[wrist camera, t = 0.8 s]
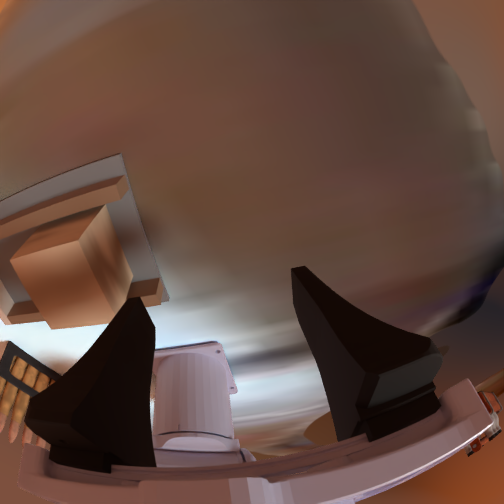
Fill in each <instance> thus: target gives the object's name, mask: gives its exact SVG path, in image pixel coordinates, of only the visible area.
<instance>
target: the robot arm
mask: <svg viewBox="0 0 504 504" xmlns="http://www.w3.org/2000/svg"><path fill="white" fill-rule="evenodd" d="M291 277H292V292H293V304H294V308H295V311H296V314H297V318H298V321H299V324H300V326H301V328H302V331H303V333H304V335H305V338H306V340H307V342H308V344H309V347H310V349H311V351H312V354H313V356H314V358H315V360H316V363H317V366H318V368H319V372H320V375H321V378H322V382H323V385H324V388H325V392H326V395H327V399H328V403H329V406H330V410H331V414H332V418H333V422H334V426H335V431H336V435H337V440H338V442H336V443H333V444H330V445H326V446H323V447H319V448H315V449H311V450H307V451H303V452H299V453H295V454H290V455H285V456H280V457H275V458H270V459H264V460H258V461H256V459H255V457H254V456H253V455H252V454H251V453H250V452H249V451H248V450H247V449H245V448H243V449H240V446H239V440H238V439H234V430H233V422H232V413H231V404H230V396H229V395H230V394H235V393H237V392H238V390H237V387H236V384H235V381H234V379H233V376H232V373H231V370H230V367H229V365H228V362H227V359H226V356H225V353H224V350H223V347H222V345H221V344H220V343H217V342H216V343H209V344H203V345H196V346H189V347H182V348H174V349H166V350H158V351H155V326H154V324H153V322H152V320H151V318H150V316H149V314H148V312H147V310H146V308H145V306H144V304H143V302H142V300H141V297H140V296H139V297H133V298H128V299H127V300H126V302H125V303H124V304H123V306H122V307H121V308H120V310H119V311H118V312H117V314H116V315H115V316H114V318H113V319H112V320H111V322H110V323H109V325H108V326H107V327H106V329H105V330H104V331H103V333H102V334H101V335H100V336H99V338H98V339H97V340H96V341H95V343H94V344H93V345H92V346H91V348H90V349H89V350H88V351H87V352H86V353H85V354H84V355H83V356H82V358H81V359H80V360H79V361H78V362H77V363H76V364H75V365H74V366H72V367H71V368H70V369H69V370H68V371H67V372H66V373H65V374H64V375H63V376H61V377H60V378H59V379H58V380H57V381H55V382H54V383H53V384H51V385H50V386H49V387H47V388H46V389H44V390H43V391H41V392H40V393H38V394H37V395H35V396H34V397H32V398H31V399H30V402H29V405H28V409H27V412H26V416H25V420H24V422H25V424H26V426H27V427H28V428H29V429H30V430H31V431H32V432H34V433H35V434H36V435H38V436H39V437H40V438H42V439H43V440H45V441H46V442H48V443H49V444H51V448H50V451H48V450H47V449H45V448H42V447H40V446H36V445H32V444H29V443H24V448H23V453H22V458H21V463H20V470H19V476H18V483H17V486H18V487H19V488H21V489H23V490H25V491H27V492H30V493H32V494H34V495H36V496H38V497H40V498H43V499H46V500H48V501H50V502H53V503H55V504H355V502H357V501H360V500H362V499H365V498H368V497H370V496H373V495H375V494H377V493H380V492H383V491H385V490H387V489H390V488H391V487H394V486H396V485H398V484H401V483H403V482H405V481H407V480H409V479H411V478H413V477H415V476H417V475H418V474H420V473H422V472H424V471H426V470H428V469H430V468H431V467H433V466H435V465H437V464H438V463H440V462H442V461H444V460H445V459H447V458H448V457H450V456H452V455H453V454H455V453H456V452H458V451H459V450H461V449H463V448H464V447H466V446H467V445H468V444H470V443H471V442H472V441H473V440H475V439H476V438H477V437H478V436H480V435H481V434H482V433H483V432H484V431H486V430H487V429H488V428H489V427H490V426H491V425H493V420H492V418H491V416H490V414H489V413H488V411H487V409H486V407H485V406H484V404H483V402H482V400H481V399H480V397H479V395H478V394H477V392H476V390H475V389H474V387H473V385H472V384H471V382H470V380H469V379H464V380H463V381H461V382H460V383H458V384H456V385H454V386H452V387H451V388H449V389H447V390H446V391H445V392H444V393H443V394H442V395H441V396H440V397H439V399H438V398H437V397H436V395H435V393H434V390H435V389H436V387H435V385H434V383H433V381H432V380H433V379H434V377H435V376H436V374H437V372H438V370H439V369H440V367H441V365H442V362H443V356H442V355H441V353H440V351H439V350H438V348H437V347H436V345H435V344H434V343H433V341H432V340H431V339H430V338H428V337H425V336H421V335H418V334H414V333H411V332H407V331H405V330H402V329H399V328H396V327H394V326H392V325H389V324H387V323H385V322H382V321H380V320H378V319H376V318H374V317H372V316H370V315H368V314H367V313H365V312H363V311H362V310H360V309H358V308H356V307H355V306H353V305H352V304H350V303H349V302H348V301H346V300H345V299H343V298H342V297H341V296H339V295H338V294H337V293H336V292H334V291H333V290H332V289H331V288H329V287H328V286H327V285H326V284H325V283H323V282H322V281H321V280H320V279H319V278H318V277H317V276H316V275H314V274H313V273H312V272H311V271H310V270H309V269H308V268H307V267H305V266H301V267H296V268H291ZM152 372H153V373H154V375H155V376H156V388H155V401H154V417H153V435H152V432H151V419H150V385H151V377H152ZM304 471H307V472H305V473H300V472H304ZM296 473H299V474H296ZM291 474H293V475H291Z"/></svg>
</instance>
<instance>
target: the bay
mask: <svg viewBox="0 0 504 504" xmlns="http://www.w3.org/2000/svg"><path fill="white" fill-rule="evenodd" d="M104 204H106V207H107V210H108V213H109V215H110V218H111V221H112V224H113V226H114V229H115V232H116V234H117V237H118V240H119V242H120V245H121V247H122V250H123V252H124V255H125V257H126V260H127V262H128V264H129V267H130V269H131V272H132V274H133V278H132V281H131V284H130V287H129V291H128V294H127V297H126V300H127V299H128V298H133V297H139V296H140V297H141V300H142V302H143V304H144V306H145V307H150V306H156V305H161V302H166V301H169V296H168V293H167V291H166V288H165V285H164V283H163V280H162V278H161V275H160V273H159V270H158V267H157V265H156V262H155V259H154V256H153V254H152V251H151V248H150V245H149V242H148V240H147V237H146V234H145V231H144V228H143V225H142V222H141V219H140V216H139V213H138V210H137V206H136V203H135V200H134V197H133V193H132V190H131V187H130V183H129V180H128V176H127V173H126V169H125V165H124V162H123V158H122V154H121V153H120V154H116V155H113V156H110V157H107V158H104V159H101V160H98V161H95V162H92V163H89V164H86V165H83V166H81V167H78V168H75V169H73V170H70V171H67V172H65V173H62V174H60V175H57V176H55V177H52V178H50V179H47V180H45V181H43V182H40V183H38V184H36V185H33V186H31V187H29V188H27V189H24V190H22V191H20V192H18V193H16V194H14V195H12V196H10V197H8V198H6V199H4V200H2V201H0V318H1V320H2V321H3V322H4V324H5V325H11V324H21V323H30V322H39V321H45V319H44V318H43V316H42V315H41V313H40V312H39V310H38V309H37V307H36V306H35V304H34V302H33V301H32V299H31V298H30V296H29V294H28V293H27V291H26V289H25V287H24V286H23V284H22V282H21V281H20V279H19V277H18V275H17V273H16V271H15V270H14V268H13V266H12V264H11V262H10V259H11V258H12V257H13V255H14V254H15V253H16V252H17V251H18V250H19V248H20V247H21V246H22V245H23V244H24V243H25V242H26V241H27V240H28V238H29V237H30V236H31V235H32V234H33V233H34V232H35V231H36V230H37V229H38V228H39V227H40V226H41V225H42V224H44V223H47V222H50V221H53V220H56V219H59V218H62V217H65V216H68V215H71V214H74V213H77V212H81V211H84V210H87V209H91V208H94V207H97V206H101V205H104ZM126 300H125V302H126Z"/></svg>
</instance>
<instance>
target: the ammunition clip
mask: <svg viewBox="0 0 504 504" xmlns="http://www.w3.org/2000/svg"><path fill="white" fill-rule="evenodd" d="M14 362H15V363H14ZM13 364H14V365H13ZM12 366H13V367H12ZM11 369H12V370H11ZM25 370H26V371H25ZM10 371H11V372H10ZM24 373H25V374H24ZM23 375H24V376H23ZM37 376H38V377H37ZM60 377H61V375H60V374H58V373H56V372H55V371H53V370H52V369H50V368H48V367H47V366H45V365H44V364H42V363H41V362H39V361H38V360H36V359H35V358H33V357H32V356H30V355H29V354H27V353H26V352H25V351H23V350H22V349H20V348H19V347H18V346H16V345H15V344H14V343H12V342H11V341H9V342H8V344H7V346H6V349H5V351H4V354H3V356H2V359H1V361H0V397H1V394H2V391H3V389H4V391H3V394H2V397H1V400H0V433H1V431H2V429H3V427H4V425H5V422H6V419H7V417H8V414H9V412H10V410H11V408H12V406H13V403H14V400H15V397H16V394H17V393H18V394H17V397H16V400H15V403H14V406H13V413H12V418H11V423H10V427H9V441H10V443H12V442H13V441H14V440H15V438H16V436H17V433H18V431H19V427H20V425H21V422H22V419H23V417H24V416H25V412H26V409H27V406H28V403H29V401H30V399H31V398H32V397H34V396H35V395H37V394H38V393H40V392H41V391H43V390H44V389H46V388H47V387H48V384H49V386H50V385H51V384H53V383H54V382H55V381H57V380H58V379H59V378H60ZM22 378H23V379H22ZM36 379H37V380H36ZM21 380H22V381H21ZM35 381H36V383H35ZM34 384H35V386H34ZM5 385H6V386H5ZM4 386H5V388H4ZM33 387H34V389H33ZM32 436H33V432H32V431H31V430H30V429H29V428H28V427H27V426H26V424H25V425H24V431H23V438H22V446H23V448H24V443H29V444H30V442H31V439H32ZM45 445H46V441H45V440H43V439H42V438H40V437H39V436H37V441H36V446H40V447H42V448H45ZM50 448H51V445H50Z"/></svg>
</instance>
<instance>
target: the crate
mask: <svg viewBox="0 0 504 504" xmlns="http://www.w3.org/2000/svg"><path fill="white" fill-rule="evenodd" d="M10 262H11V264H12V266H13V268H14V270H15V271H16V273H17V275H18V277H19V279H20V281H21V282H22V284H23V286H24V287H25V289H26V291H27V293H28V294H29V296H30V298H31V299H32V301H33V302H34V304H35V306H36V307H37V309H38V310H39V312H40V313H41V315H42V316H43V318H44V319H45V321H46V322H47V324H48V325H49V327H50V328H51V329H63V328H72V327H82V326H90V325H99V324H107V323H110V322H111V320H112V319H113V318H114V316H115V315H116V314H117V312H118V311H119V310H120V308H121V307H122V306H123V304H124V303H125V300H126V297H127V294H128V291H129V287H130V284H131V281H132V278H133V274H132V272H131V269H130V267H129V264H128V262H127V260H126V257H125V255H124V252H123V250H122V247H121V245H120V242H119V240H118V237H117V234H116V232H115V229H114V226H113V224H112V221H111V218H110V215H109V213H108V210H107V207H106V204H104V205H101V206H97V207H94V208H91V209H87V210H84V211H81V212H77V213H74V214H71V215H68V216H65V217H62V218H59V219H56V220H53V221H50V222H47V223H44V224H42V225H41V226H40V227H39V228H38V229H37V230H36V231H35V232H34V233H33V234H32V235H31V236H30V237H29V238H28V240H27V241H26V242H25V243H24V244H23V245H22V246H21V247H20V248H19V250H18V251H17V252H16V253H15V254H14V255H13V257H12V258H11V259H10Z"/></svg>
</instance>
